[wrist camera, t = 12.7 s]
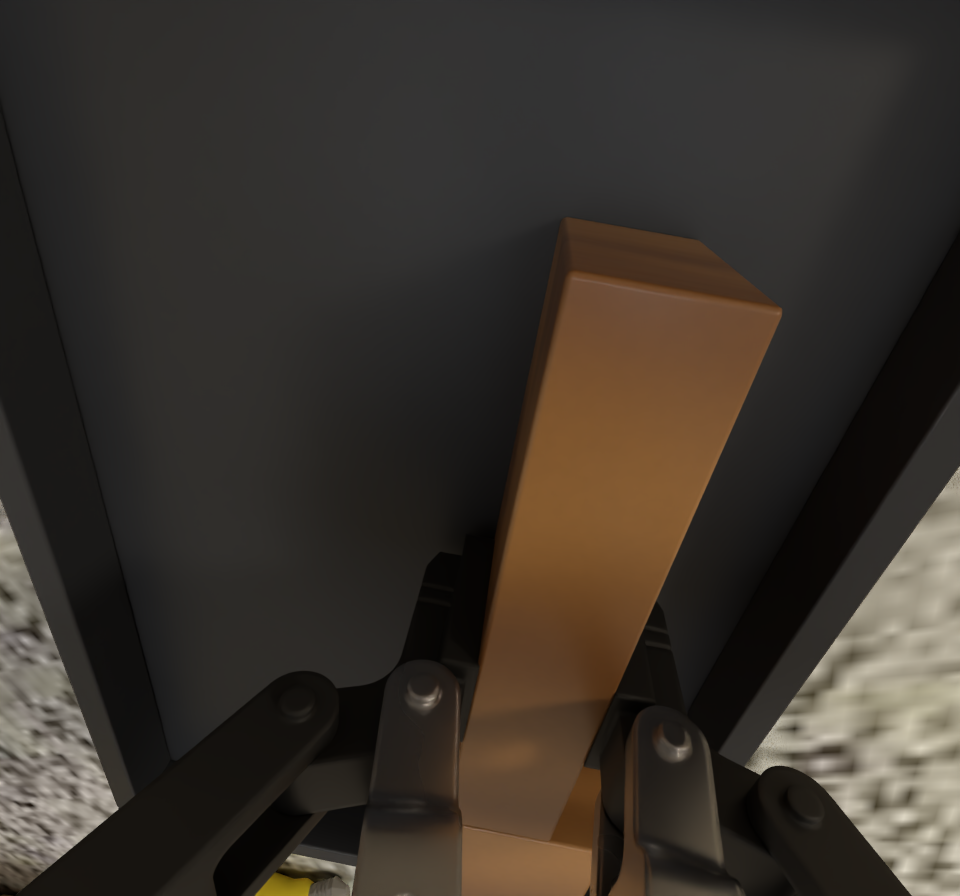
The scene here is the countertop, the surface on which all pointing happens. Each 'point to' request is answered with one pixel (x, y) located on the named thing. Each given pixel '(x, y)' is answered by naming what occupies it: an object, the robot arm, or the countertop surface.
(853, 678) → the countertop surface
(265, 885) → the light bulb
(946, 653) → the countertop surface
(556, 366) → the brush
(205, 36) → the tray
